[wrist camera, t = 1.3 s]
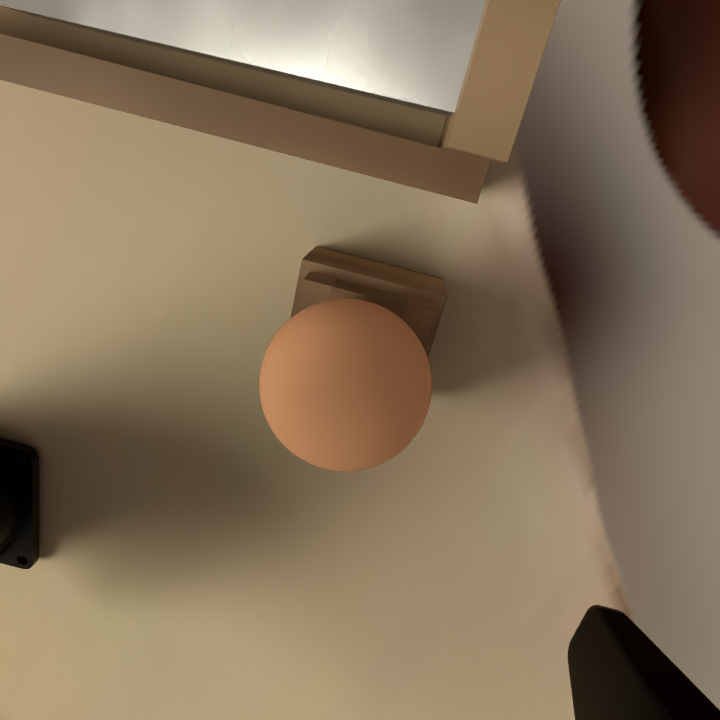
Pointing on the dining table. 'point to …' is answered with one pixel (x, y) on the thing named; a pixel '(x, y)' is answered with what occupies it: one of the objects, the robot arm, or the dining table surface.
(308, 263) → the brown square frame
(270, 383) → the ball
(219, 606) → the dining table surface
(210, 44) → the chute
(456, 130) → the lane
